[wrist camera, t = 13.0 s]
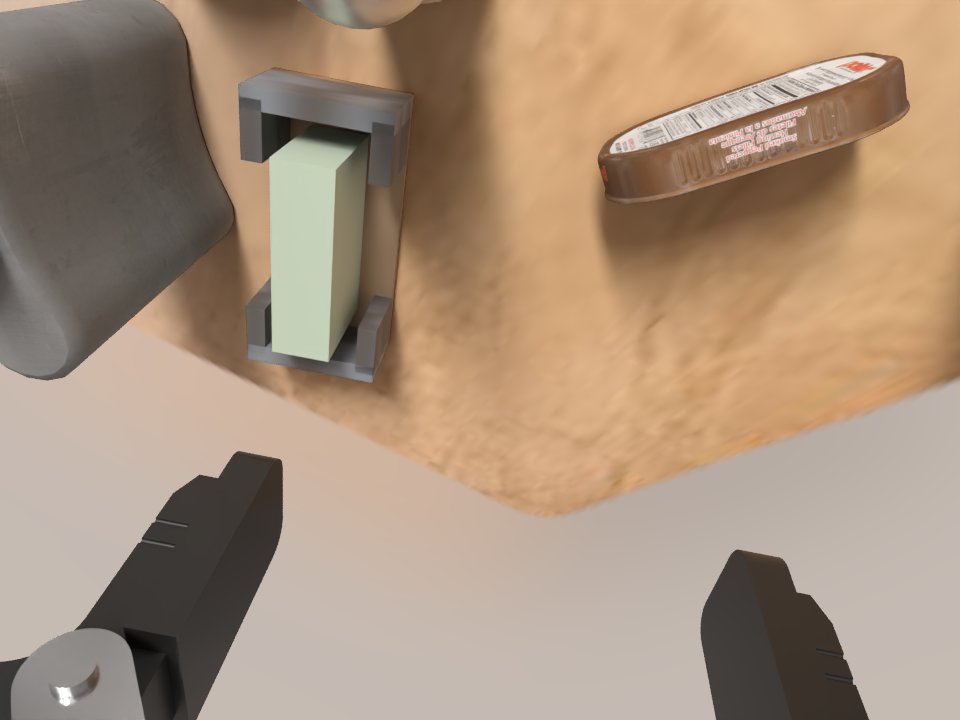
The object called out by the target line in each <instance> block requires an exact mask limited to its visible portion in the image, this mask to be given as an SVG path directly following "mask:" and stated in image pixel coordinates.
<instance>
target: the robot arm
mask: <svg viewBox="0 0 960 720" xmlns="http://www.w3.org/2000/svg"><path fill="white" fill-rule="evenodd" d="M282 520H283V468H282V461H281V460H280V459H276V458H272V457H266V456H261V455H256V454H251V453H246V452H241V451H239V452H236V453H235V454H234V455H233V456H232V458H231V459H230V461H229V462H228V464H227V465H226V467H225V468H224V470H223V472H222V473H221V475H220V476H219V478H213V477H208V476H203V475H199V476H197V477H196V478H195V479H193V480H192V481H190V482H189V483H188V484H186V485H185V486H183V487H182V488H180V489H179V490H177V491H176V492H175V493H173V494H172V496H171V497H170V499H169V500H168V502H167V503H166V504H165V506H164V507H163V509H162V510H161V512H160V513H159V514H158V516H157V517H156V521H155V523H152V524H151V526H150V527H149V529H148V530H147V531H146V533H145V534H144V536H143V537H142V541H141V543H138V544H137V546H136V547H135V548H134V550H133V552H132V553H131V554H130V556H129V557H128V558H127V560H126V561H125V563H124V564H123V566H122V567H121V569H120V570H119V571H118V573H117V574H116V576H115V577H114V578H113V580H112V581H111V583H110V584H109V586H108V587H107V588H106V590H105V591H104V593H103V594H102V596H101V597H100V598H99V600H98V601H97V603H96V604H95V605H94V607H93V608H92V610H91V611H90V613H89V614H88V615H87V617H86V618H85V619H84V621H83V622H82V623H81V624H80V625H79V626H78V627H77V628H76V629H75V630H74V631H71V632H68V633H65V634H62V635H60V636H57V637H56V638H54V639H52V640H50V641H48V642H47V643H45V644H44V645H42V646H41V647H39V648H38V649H37V650H36V651H35V652H33V653H32V654H31V655H30V656H29V657H25V658H22V659H18V660H12V661H6V662H0V720H196V719H197V717H198V715H199V713H200V711H201V709H202V706H203V704H204V702H205V700H206V698H207V696H208V694H209V692H210V689H211V687H212V685H213V683H214V681H215V679H216V676H217V675H218V673H219V670H220V668H221V666H222V664H223V662H224V660H225V658H226V656H227V653H228V651H229V649H230V647H231V645H232V643H233V641H234V639H235V636H236V634H237V632H238V630H239V628H240V626H241V624H242V622H243V619H244V617H245V615H246V613H247V611H248V609H249V607H250V604H251V603H252V600H253V598H254V596H255V594H256V592H257V590H258V588H259V585H260V583H261V581H262V579H263V577H264V575H265V573H266V570H267V569H268V566H269V564H270V562H271V560H272V558H273V555H274V553H275V551H276V548H277V545H278V542H279V538H280V534H281V529H282ZM701 641H702V647H703V652H704V657H705V663H706V668H707V673H708V678H709V684H710V689H711V694H712V700H713V705H714V710H715V716H716V720H869V719H868V716H867V713H866V711H865V708H864V705H863V703H862V700H861V698H860V695H859V692H858V690H857V687H856V685H853V677H852V674H851V671H850V669H849V666H848V664H847V661H846V660H844V659H843V654H844V653H843V650H842V648H841V645H840V643H839V640H838V637H837V635H836V632H835V630H834V627H833V624H832V623H831V621H830V620H829V619H828V617H827V616H826V615H825V614H824V612H823V611H822V610H821V608H820V607H819V606H818V605H817V603H816V602H815V601H814V599H813V598H812V597H811V596H810V595H806V594H802V593H797V592H796V589H795V587H794V584H793V581H792V578H791V575H790V572H789V569H788V567H787V564H786V563H785V561H784V560H783V559H781V558H779V557H773V556H768V555H763V554H758V553H753V552H748V551H743V550H735V551H734V552H733V553H732V554H731V556H730V557H729V559H728V561H727V563H726V565H725V567H724V569H723V571H722V573H721V575H720V576H719V579H718V580H717V582H716V584H715V586H714V588H713V590H712V592H711V594H710V596H709V597H708V599H707V601H706V603H705V606H704V609H703V613H702V618H701Z"/></svg>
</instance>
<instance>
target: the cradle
mask: <svg viewBox="0 0 960 720" xmlns="http://www.w3.org/2000/svg"><path fill="white" fill-rule="evenodd" d="M238 89H239V119H240V148H241V160H246V161H252V162H257V163H263V162H265V161H266V160H267V159H269V157H270V156H272V155H273V154H274V153H276V152H277V151H278V150H280V149H281V148H282V147H283V146H285V145H286V144H287V143H289V142H290V141H291V140H293V139H294V138H295V137H297V136H298V135H299V134H301V133H302V132H303V131H304V130H306V129H307V128H308V127H310V126H311V125H315V126H321V127H326V128H331V129H337V130H342V131H347V132H353V133H358V134H364V135H369V141H368V157H367V173H366V188H365V204H364V220H363V235H362V251H361V266H360V282H359V298H358V309H357V311H356V313H355V315H354V316H353V318H352V320H351V322H350V324H349V325H348V327H347V329H346V331H345V333H344V335H343V336H342V338H341V340H340V342H339V344H338V345H337V347H336V349H335V351H334V353H333V354H332V356H331V358H330V360H329V362H325V361H320V360H315V359H309V358H304V357H299V356H294V355H288V354H283V353H278V352H273V351H272V309H271V278H270V279H269V280H268V281H267V282H266V283H265V285H264V286H263V287H262V288H261V289H260V290H259V292H258V293H257V294H256V295H255V296H254V297H253V299H252V300H251V301H250V302H249V303H248V305H247V306H246V326H247V355H248V359H250V360H255V361H261V362H266V363H271V364H276V365H281V366H287V367H292V368H297V369H302V370H307V371H313V372H318V373H323V374H328V375H333V376H339V377H344V378H349V379H354V380H359V381H365V382H370V383H372V382H373V380H374V377H375V375H376V373H377V370H378V368H379V366H380V363H381V361H382V359H383V356H384V354H385V352H386V349H387V347H388V345H389V341H390V331H391V321H392V311H393V301H394V291H395V281H396V271H397V261H398V251H399V241H400V231H401V221H402V211H403V201H404V191H405V181H406V171H407V161H408V151H409V141H410V131H411V121H412V111H413V101H414V94H411V93H406V92H400V91H395V90H390V89H385V88H379V87H374V86H369V85H364V84H358V83H353V82H348V81H343V80H337V79H332V78H327V77H322V76H316V75H311V74H306V73H301V72H295V71H290V70H285V69H280V68H272V69H270V70H268V71H265V72H263V73H261V74H259V75H257V76H255V77H253V78H251V79H248V80H246V81H244V82H242V83H240V84H238Z"/></svg>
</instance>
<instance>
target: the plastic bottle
mask: <svg viewBox="0 0 960 720" xmlns="http://www.w3.org/2000/svg"><path fill="white" fill-rule="evenodd" d="M298 1H299V2H300V3H301V4H303V5H304V6H305V7H307V8H308V9H309V10H311V11H312V12H313V13H315V14H316V15H317V16H319V17H321V18H323V19H325V20H328V21H330V22H332V23H334V24H337V25H340V26H344V27H348V28H353V29H373V28H379V27H385V26H387V25H390V24H392V23H394V22H397V21H399V20H401V19H402V18H404V17H405V16H406V15H408V14H409V13H411V12H412V11H413V10H414V9H415V8H416V7H418V6H419V4H430V3H436V2H441V1H443V0H298Z"/></svg>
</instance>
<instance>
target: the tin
mask: <svg viewBox="0 0 960 720" xmlns="http://www.w3.org/2000/svg"><path fill="white" fill-rule="evenodd" d="M909 108H910V104H909V101H908V100H907V96H906V85H905V75H904V67H903V62H902V60H901V59H899V58H897V57H894V56H887V55H880V54H875V53H859V54H853V55H847V56H842V57H838V58H833V59H829V60H825V61H821V62H817V63H814V64H810V65H807V66H803V67H800V68H797V69H794V70H791V71H788V72H785V73H782V74H779V75H776V76H773V77H770V78H767V79H764V80H761V81H758V82H755V83H752V84H749V85H746V86H743V87H740V88H737V89H733V90H730V91H727V92H725V93H722V94H719V95H716V96H713V97H710V98H707V99H704V100H701V101H699V102H696V103H693V104H690V105H687V106H684V107H682V108H679V109H676V110H673V111H670V112H668V113H665V114H662V115H659V116H657V117H654V118H652V119H649V120H647V121H644V122H642V123H640V124H637V125H635V126H633V127H631V128H629V129H627V130H625V131H623V132H621V133H619V134H617V135H616V136H614V137H613V138H611V139H610V140H609V141H607V142H606V143H605V144H604V146H603V147H602V149H601V151H600V153H599V155H598V164H599V168H600V171H601V175H602V178H603V181H604V185H605V196H606V198H607V199H608V200H610V201H612V202H617V203H624V204H631V203H642V202H650V201H656V200H661V199H665V198H670V197H674V196H678V195H681V194H685V193H689V192H692V191H695V190H698V189H702V188H705V187H708V186H711V185H715V184H718V183H721V182H724V181H728V180H731V179H734V178H738V177H741V176H744V175H747V174H751V173H753V172H757V171H760V170H763V169H766V168H770V167H773V166H776V165H780V164H783V163H786V162H789V161H793V160H796V159H799V158H803V157H806V156H809V155H812V154H815V153H819V152H822V151H825V150H829V149H833V148H836V147H839V146H842V145H845V144H848V143H851V142H854V141H857V140H860V139H862V138H865V137H867V136H870V135H872V134H874V133H877V132H879V131H881V130H883V129H885V128H886V127H889V126H890V125H892V124H894V123H895V122H897V121H899V120H900V119H901V118H903V117H904V116H905V115H906V113H907V112H908V111H909Z"/></svg>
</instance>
